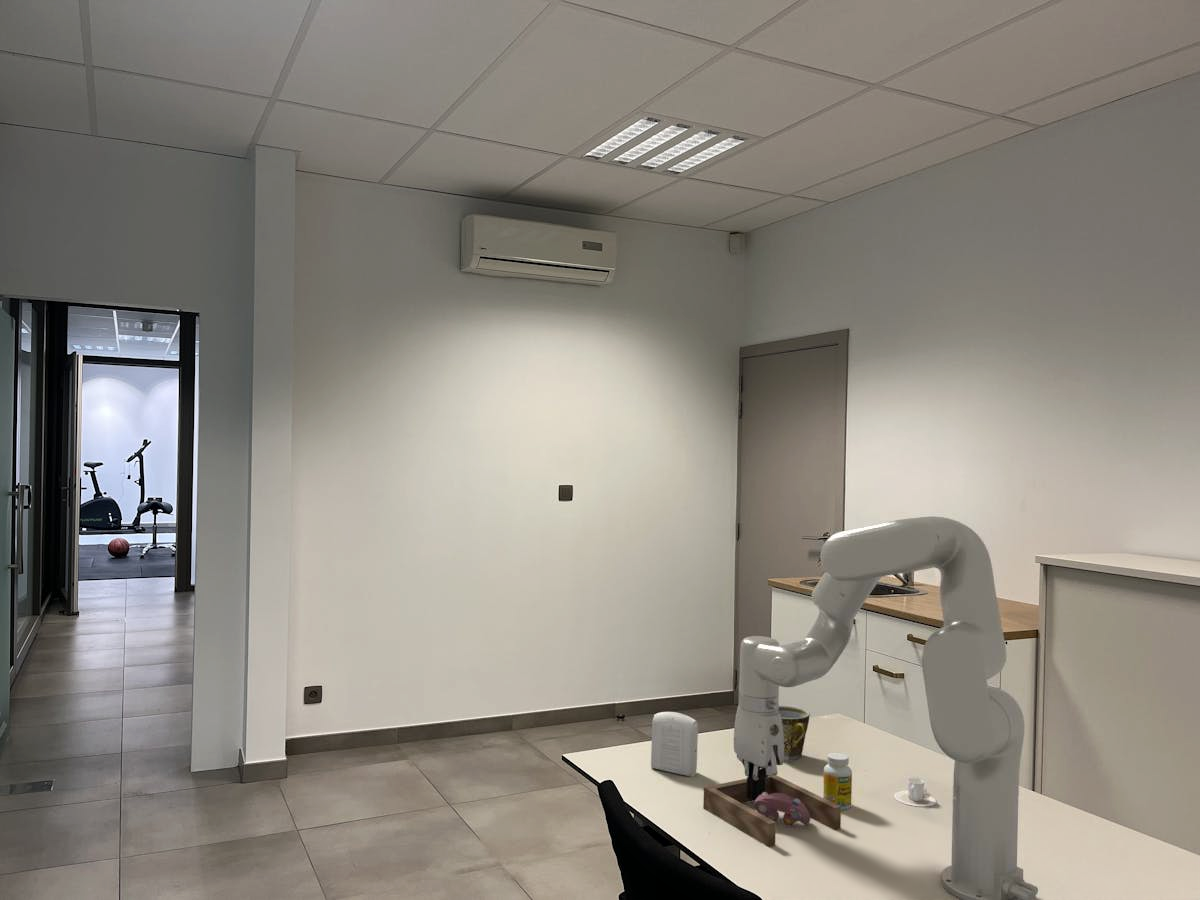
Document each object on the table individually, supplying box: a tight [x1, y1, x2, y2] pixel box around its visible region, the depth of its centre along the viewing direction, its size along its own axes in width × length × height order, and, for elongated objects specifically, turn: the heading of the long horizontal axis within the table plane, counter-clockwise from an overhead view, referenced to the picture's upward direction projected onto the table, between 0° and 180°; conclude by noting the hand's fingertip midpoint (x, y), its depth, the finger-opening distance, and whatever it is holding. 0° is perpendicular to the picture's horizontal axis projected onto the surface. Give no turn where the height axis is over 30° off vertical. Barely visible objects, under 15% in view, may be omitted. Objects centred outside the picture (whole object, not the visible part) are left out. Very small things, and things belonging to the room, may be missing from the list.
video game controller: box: [753, 792, 811, 827], centre depth 166 cm, size 10×5×7 cm, turn 63°
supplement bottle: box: [822, 752, 853, 811], centre depth 175 cm, size 5×5×10 cm
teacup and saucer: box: [893, 777, 937, 808], centre depth 180 cm, size 9×8×4 cm
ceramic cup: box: [778, 705, 811, 762], centre depth 202 cm, size 13×10×10 cm
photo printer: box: [650, 711, 699, 777], centre depth 193 cm, size 10×4×12 cm, turn 60°
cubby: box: [702, 774, 842, 848], centre depth 168 cm, size 19×17×4 cm
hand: (755, 797), depth 172 cm, fingers closed
